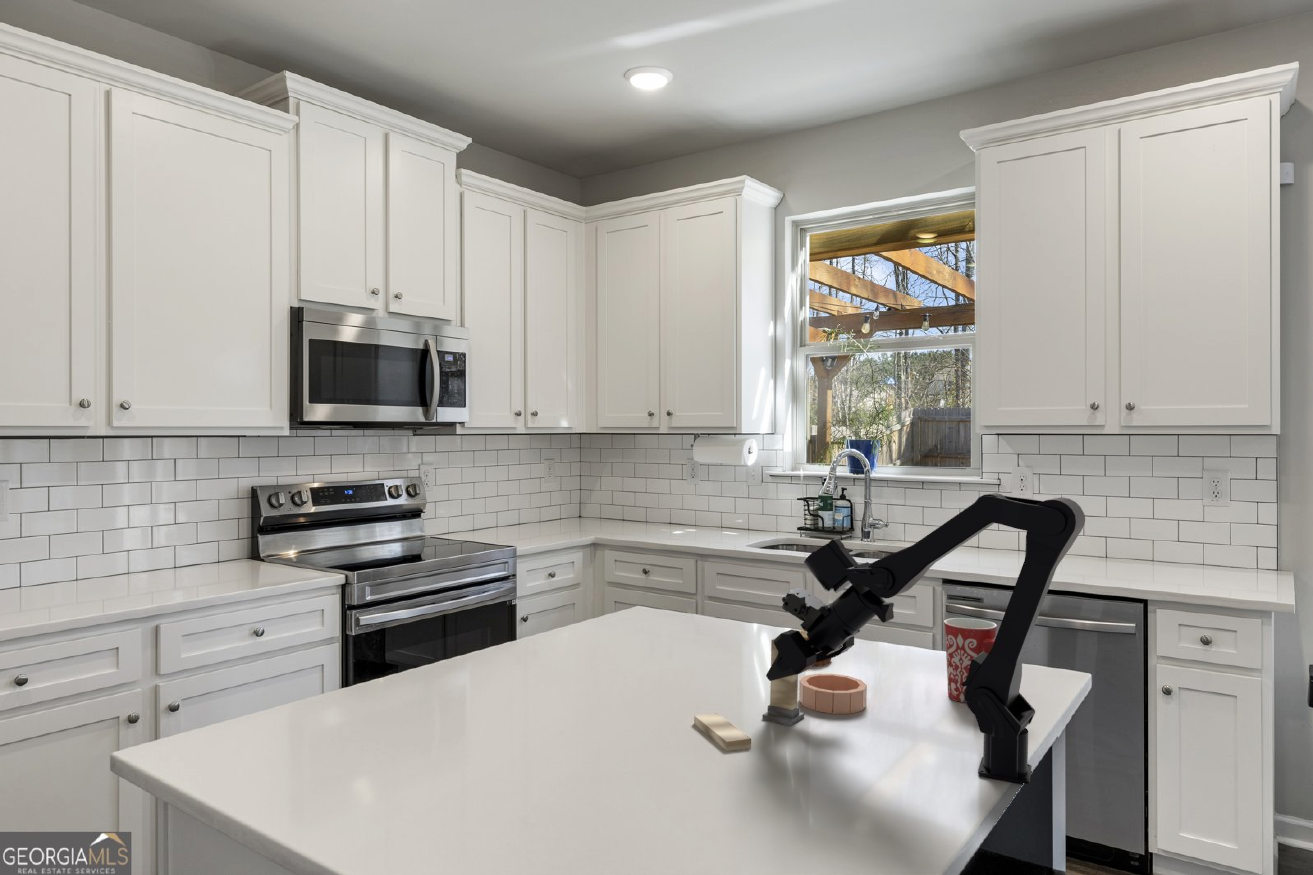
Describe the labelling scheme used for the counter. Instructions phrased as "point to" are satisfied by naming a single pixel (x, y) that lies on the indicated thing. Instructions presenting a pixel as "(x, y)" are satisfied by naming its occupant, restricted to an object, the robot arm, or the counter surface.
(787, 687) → the wooden pillar
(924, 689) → the counter surface
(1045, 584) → the robot arm
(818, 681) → the bowl
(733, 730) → the light wooden flat block
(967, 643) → the mug
